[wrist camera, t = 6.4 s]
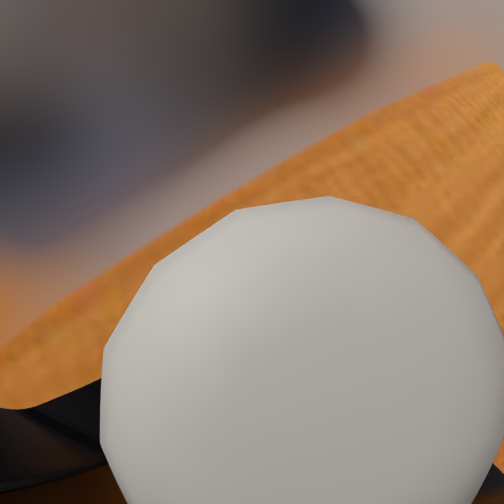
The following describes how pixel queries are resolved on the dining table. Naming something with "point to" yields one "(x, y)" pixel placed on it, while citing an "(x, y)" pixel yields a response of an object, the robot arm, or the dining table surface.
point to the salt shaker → (305, 366)
